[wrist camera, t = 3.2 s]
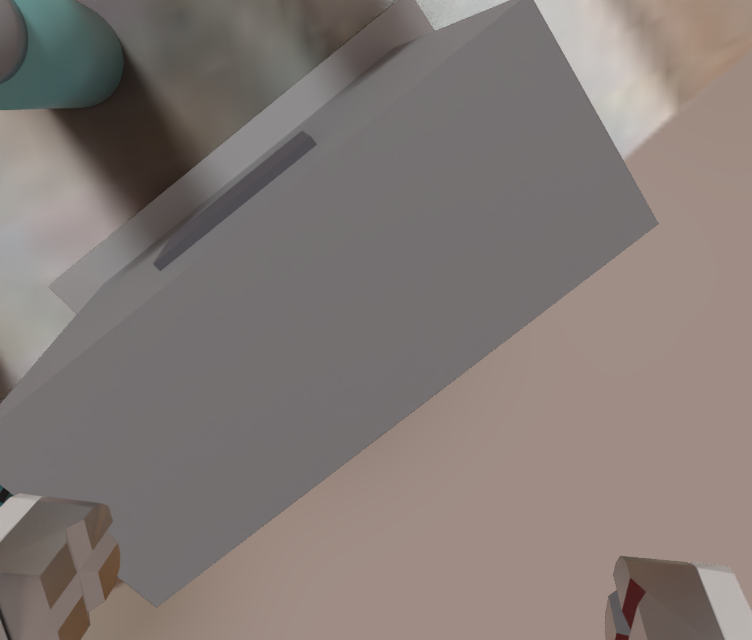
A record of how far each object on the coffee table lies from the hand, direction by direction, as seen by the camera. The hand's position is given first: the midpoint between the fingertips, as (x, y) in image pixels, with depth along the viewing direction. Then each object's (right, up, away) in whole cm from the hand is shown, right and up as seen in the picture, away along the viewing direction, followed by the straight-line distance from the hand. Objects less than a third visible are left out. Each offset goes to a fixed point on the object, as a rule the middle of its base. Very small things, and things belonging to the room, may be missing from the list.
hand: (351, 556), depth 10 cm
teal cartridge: (-14, +16, +19) cm, 28 cm away
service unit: (-4, +9, +23) cm, 25 cm away
